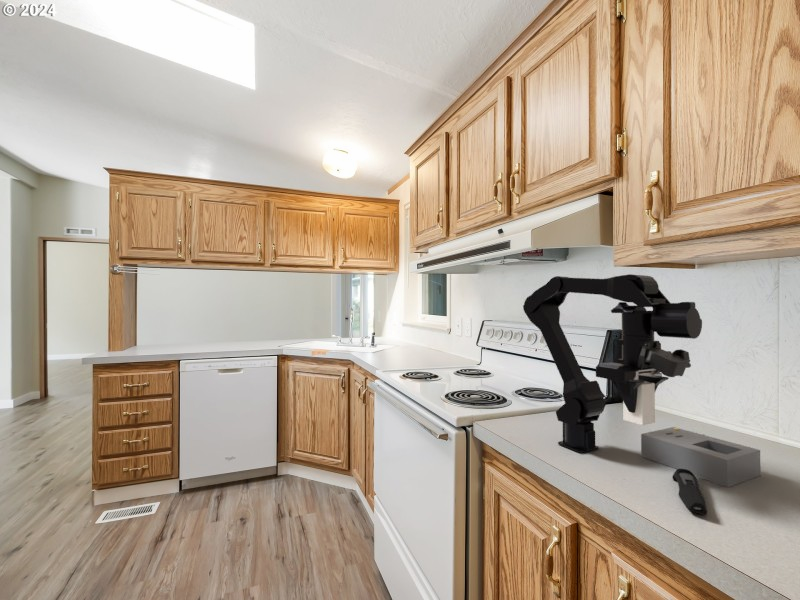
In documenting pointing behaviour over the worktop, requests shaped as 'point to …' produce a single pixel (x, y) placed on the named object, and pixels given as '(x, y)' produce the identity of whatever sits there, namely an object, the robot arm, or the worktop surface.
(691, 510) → the electric trimmer
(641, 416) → the block
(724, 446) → the block
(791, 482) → the worktop surface
